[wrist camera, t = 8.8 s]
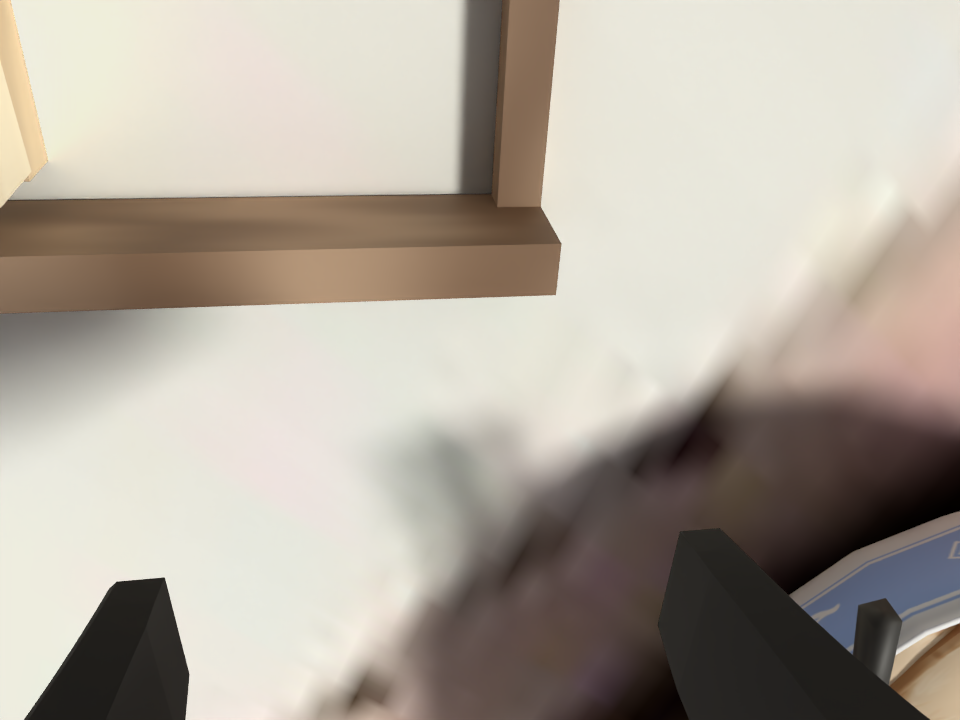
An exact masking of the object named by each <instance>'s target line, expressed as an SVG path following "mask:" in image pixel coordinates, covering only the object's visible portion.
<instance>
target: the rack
mask: <svg viewBox="0 0 960 720" xmlns="http://www.w3.org/2000/svg"><path fill="white" fill-rule="evenodd" d="M559 1H560V0H502V16H501V34H500V52H499V69H498V87H497V105H496V122H495V140H494V158H493V175H492V193H491V194H464V195H390V196H316V197H243V198H169V199H96V200H22V201H6V202H5V204H4V205H3V206H2V207H1V208H0V314H3V313H33V312H63V311H93V310H122V309H152V308H182V307H212V306H241V305H271V304H301V303H331V302H361V301H390V300H420V299H450V298H480V297H509V296H539V295H556V288H557V279H558V270H559V261H560V252H561V242H560V240H559V239H558V237H557V235H556V233H555V231H554V230H553V228H552V226H551V224H550V223H549V221H548V219H547V217H546V215H545V214H544V212H543V210H542V208H541V196H542V185H543V174H544V164H545V153H546V142H547V131H548V120H549V109H550V99H551V88H552V77H553V66H554V55H555V44H556V33H557V23H558V12H559Z"/></svg>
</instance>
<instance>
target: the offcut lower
mask: <svg viewBox="0 0 960 720" xmlns="http://www.w3.org/2000/svg"><path fill="white" fill-rule="evenodd" d="M0 61H1V65H2V69H3V72H4V76H5V79H6V83H7V86H8V90H9V93H10V97H11V101H12V104H13V108H14V111H15V115H16V118H17V122H18V125H19V129H20V132H21V136H22V140H23V143H24V147H25V150H26V154H27V157H28V161H29V164H30V168H31V173H30V174H29V175H28V176H27V178H26V179H25V180H24V181H23V182H30V181H31V180H32V179H33V177H34V176H35V175H36V174H37V173H38V172H39V171H40V169H41V168H42V167H43V166H44V165H45V164H46V162H47V161H48V158H47V153H46V149H45V145H44V141H43V136H42V132H41V128H40V124H39V119H38V115H37V111H36V107H35V102H34V98H33V94H32V89H31V85H30V81H29V77H28V72H27V68H26V64H25V60H24V55H23V51H22V47H21V43H20V38H19V34H18V30H17V26H16V21H15V17H14V13H13V9H12V4H11V0H0Z"/></svg>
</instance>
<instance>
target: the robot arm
mask: <svg viewBox="0 0 960 720" xmlns="http://www.w3.org/2000/svg"><path fill="white" fill-rule="evenodd" d="M658 627H659V630H660V634H661V638H662V641H663V645H664V648H665V652H666V655H667V659H668V662H669V665H670V669H671V672H672V675H673V678H674V681H675V685H676V688H677V691H678V694H679V696H680V699H681V701H682V703H683V706H684V708H685V711H686V713H687V715H688V718H689V720H930V719H929V718H928V717H926V716H925V715H924V714H923V713H921V712H920V711H919V710H918V709H916V708H915V707H914V706H913V705H911V704H910V703H909V702H908V701H907V700H905V699H904V698H903V697H902V696H901V695H899V694H898V693H897V692H896V691H895V690H893V689H892V688H891V687H890V686H889V685H887V684H886V683H885V682H884V681H883V680H881V679H880V678H879V677H878V676H877V675H875V674H874V673H873V672H872V671H871V670H869V669H868V668H867V667H866V666H865V665H864V664H863V663H862V662H860V661H859V660H858V659H857V658H856V657H855V656H854V655H852V654H851V653H850V652H849V651H848V650H847V649H846V648H845V647H844V646H842V645H841V644H840V643H839V642H838V641H837V640H836V639H835V638H834V637H833V636H832V635H830V634H829V633H828V632H827V631H826V630H825V629H824V628H823V627H822V626H821V625H820V624H818V623H817V622H816V621H815V620H814V619H813V618H812V617H811V616H810V615H809V614H808V613H807V612H806V611H804V610H803V609H802V608H801V607H800V606H799V605H798V604H797V603H796V602H795V601H794V600H793V599H792V598H791V597H790V596H789V595H788V594H787V593H786V592H785V591H784V590H783V589H782V588H781V587H779V586H778V585H777V584H776V583H775V582H774V581H773V580H772V579H771V578H770V577H769V576H768V575H767V574H766V573H765V572H764V571H763V570H762V569H761V568H760V567H759V566H758V565H757V564H756V563H755V562H754V561H753V560H752V559H751V558H750V557H749V556H748V555H747V554H746V553H745V552H744V551H743V550H741V549H740V548H739V547H738V546H737V545H736V544H735V543H734V542H733V541H732V540H731V539H730V538H729V537H728V536H727V535H726V534H725V533H724V532H723V531H722V530H721V529H720V528H716V529H705V530H694V531H682V532H680V534H679V538H678V542H677V546H676V551H675V555H674V559H673V563H672V567H671V572H670V576H669V580H668V584H667V588H666V592H665V597H664V601H663V605H662V609H661V613H660V618H659V622H658ZM188 684H189V671H188V667H187V663H186V659H185V655H184V652H183V648H182V644H181V640H180V636H179V632H178V628H177V624H176V620H175V616H174V612H173V608H172V604H171V600H170V597H169V593H168V589H167V585H166V581H165V578H154V579H143V580H132V581H120V582H116V583H115V584H114V585H113V586H112V587H111V588H109V590H108V592H107V593H106V595H105V597H104V598H103V600H102V602H101V603H100V605H99V607H98V608H97V610H96V611H95V613H94V615H93V616H92V618H91V620H90V621H89V623H88V624H87V626H86V628H85V629H84V631H83V632H82V634H81V636H80V637H79V639H78V640H77V642H76V643H75V645H74V647H73V648H72V650H71V651H70V653H69V654H68V656H67V657H66V659H65V660H64V662H63V663H62V665H61V667H60V668H59V670H58V671H57V673H56V674H55V676H54V677H53V679H52V680H51V682H50V683H49V685H48V686H47V687H46V689H45V690H44V692H43V693H42V695H41V696H40V698H39V699H38V700H37V702H36V703H35V705H34V706H33V708H32V709H31V711H30V712H29V713H28V715H27V716H26V718H25V719H24V720H185V717H186V706H187V695H188Z"/></svg>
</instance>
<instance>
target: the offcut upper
mask: <svg viewBox="0 0 960 720" xmlns="http://www.w3.org/2000/svg"><path fill="white" fill-rule="evenodd" d="M30 173H31V168H30V164H29V161H28V157H27V154H26V150H25V147H24V143H23V140H22V136H21V132H20V129H19V125H18V122H17V118H16V115H15V111H14V108H13V104H12V101H11V97H10V93H9V90H8V86H7V83H6V79H5V76H4V72H3V69H2V65H1V61H0V208H1V207H2V206H3V205H4V204H5V202H6V201H7V200H8V199H9V198H10V196H11V195H12V194H13V193H14V192H15V191H16V189H17V188H18V187H19V186H20V185H21V184H22V182H23V181H24V180H25V179H26V178H27V176H28V175H29V174H30Z"/></svg>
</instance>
